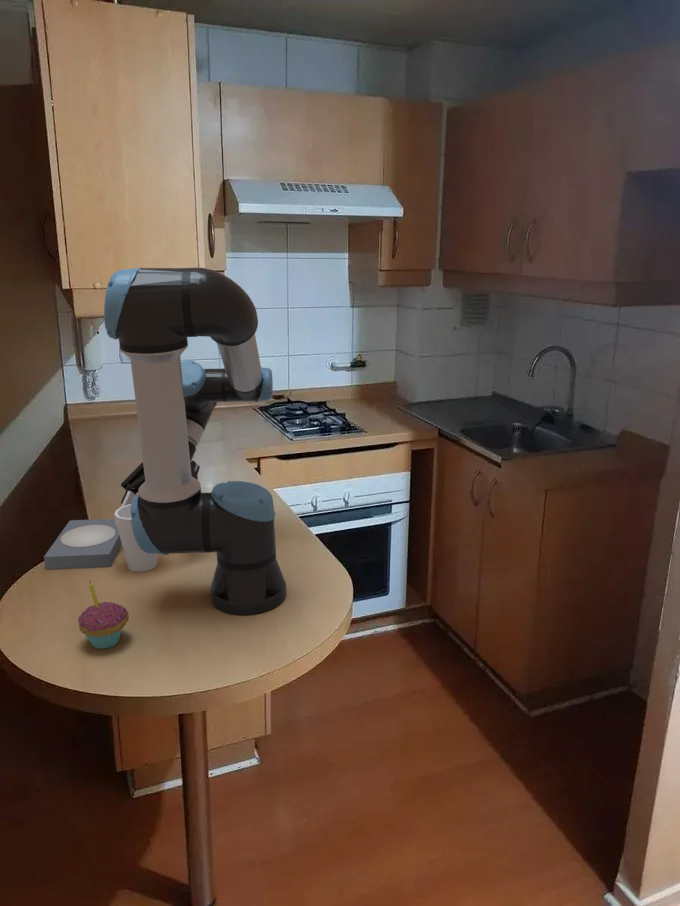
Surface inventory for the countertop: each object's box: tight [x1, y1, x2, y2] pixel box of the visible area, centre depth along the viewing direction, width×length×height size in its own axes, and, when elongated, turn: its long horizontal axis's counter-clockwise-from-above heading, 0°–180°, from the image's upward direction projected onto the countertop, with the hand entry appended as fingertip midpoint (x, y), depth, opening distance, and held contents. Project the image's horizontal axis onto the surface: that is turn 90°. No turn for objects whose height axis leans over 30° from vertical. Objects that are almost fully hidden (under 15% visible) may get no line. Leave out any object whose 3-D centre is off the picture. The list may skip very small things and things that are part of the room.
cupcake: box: [77, 579, 130, 650], centre depth 126 cm, size 9×8×12 cm
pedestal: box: [43, 518, 122, 570], centre depth 164 cm, size 20×14×3 cm
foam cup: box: [114, 504, 159, 573], centre depth 154 cm, size 10×9×13 cm
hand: (144, 524), depth 156 cm, fingers open, 13 cm apart
